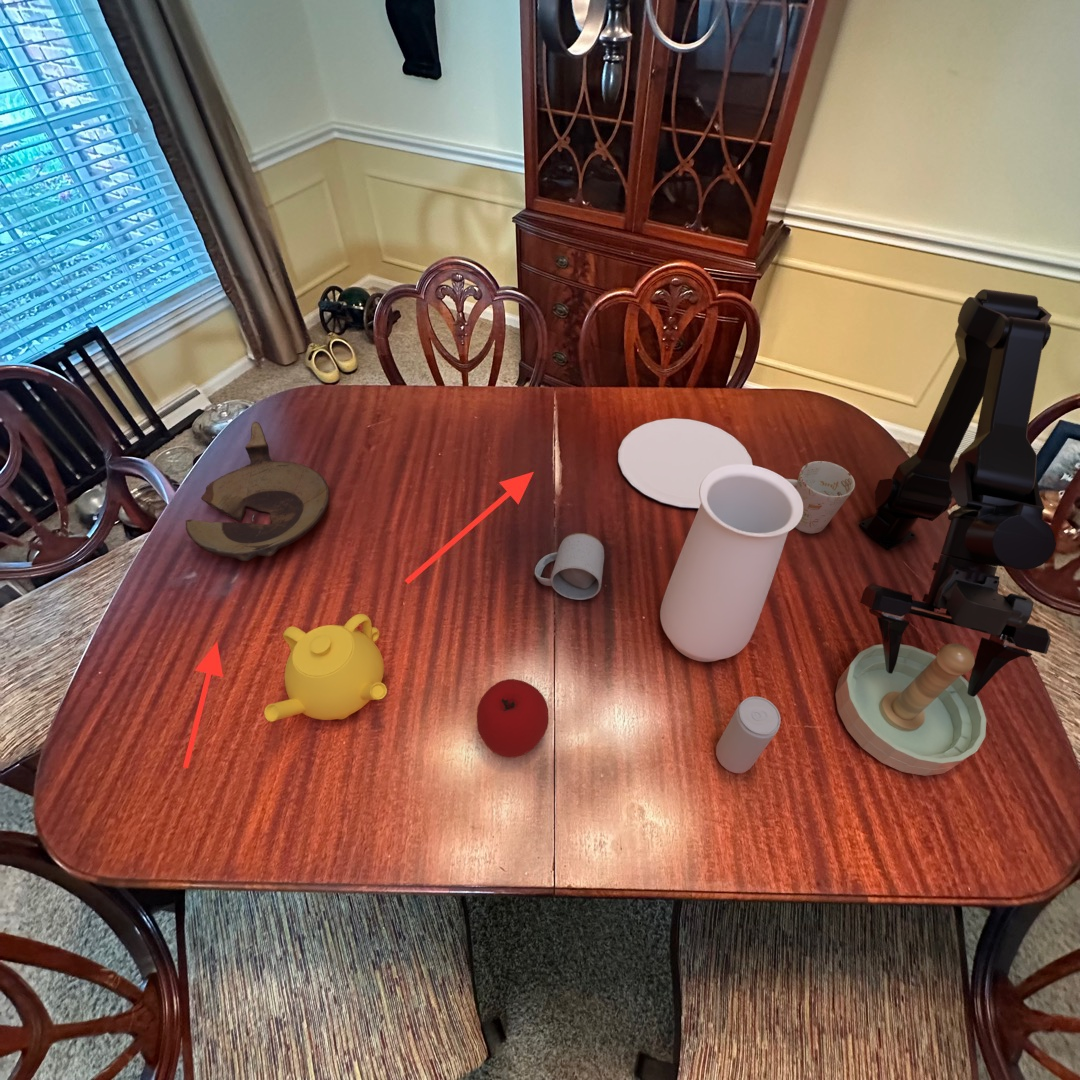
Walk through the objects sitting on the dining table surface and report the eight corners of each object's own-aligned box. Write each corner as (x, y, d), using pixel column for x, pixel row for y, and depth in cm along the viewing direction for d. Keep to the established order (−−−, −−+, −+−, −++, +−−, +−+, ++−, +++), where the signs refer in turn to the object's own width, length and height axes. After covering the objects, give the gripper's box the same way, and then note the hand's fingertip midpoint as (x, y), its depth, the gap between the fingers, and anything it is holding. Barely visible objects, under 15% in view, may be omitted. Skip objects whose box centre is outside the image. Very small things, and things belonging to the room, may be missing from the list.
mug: (834, 542, 100) (858, 499, 92) (757, 531, 102) (774, 488, 94) (829, 507, 105) (851, 464, 98) (755, 497, 107) (772, 454, 99)
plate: (733, 421, 121) (735, 416, 120) (768, 510, 105) (771, 505, 104) (610, 423, 121) (610, 418, 120) (626, 513, 104) (627, 508, 103)
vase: (693, 687, 83) (745, 558, 62) (639, 618, 90) (669, 481, 69) (764, 647, 87) (836, 514, 66) (707, 584, 94) (755, 446, 73)
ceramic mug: (604, 562, 97) (607, 530, 91) (599, 603, 92) (602, 572, 86) (539, 555, 98) (538, 523, 93) (531, 595, 93) (529, 564, 87)
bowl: (894, 645, 87) (910, 626, 83) (992, 744, 77) (1016, 727, 74) (807, 689, 82) (820, 671, 79) (900, 800, 73) (920, 785, 69)
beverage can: (710, 739, 78) (732, 696, 69) (746, 736, 78) (773, 693, 69) (720, 776, 75) (745, 737, 66) (758, 773, 75) (788, 733, 66)
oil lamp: (172, 574, 96) (148, 543, 90) (246, 451, 115) (231, 419, 110) (309, 583, 95) (294, 552, 89) (360, 457, 114) (351, 425, 108)
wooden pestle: (887, 687, 82) (946, 623, 70) (926, 710, 80) (994, 648, 68) (873, 715, 79) (932, 653, 67) (914, 739, 77) (982, 680, 65)
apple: (542, 772, 75) (542, 740, 68) (471, 761, 76) (464, 727, 69) (553, 704, 81) (554, 667, 74) (487, 694, 82) (482, 657, 75)
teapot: (285, 748, 77) (254, 710, 69) (289, 657, 86) (262, 613, 77) (398, 724, 79) (382, 684, 71) (391, 638, 88) (376, 593, 80)
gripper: (908, 544, 66) (867, 678, 68) (1103, 590, 62) (1054, 731, 64) (877, 540, 77) (842, 655, 78) (1041, 578, 73) (1001, 700, 74)
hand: (929, 683), depth 73 cm, fingers open, 9 cm apart
